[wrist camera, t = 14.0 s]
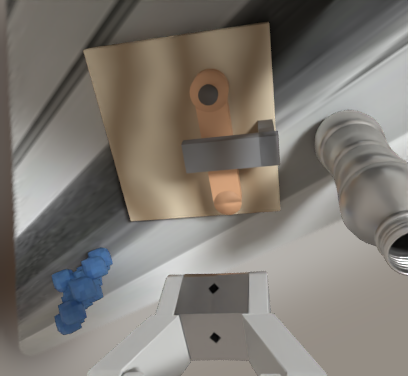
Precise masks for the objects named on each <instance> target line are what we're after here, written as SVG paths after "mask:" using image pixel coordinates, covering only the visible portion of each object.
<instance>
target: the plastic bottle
mask: <svg viewBox="0 0 408 376" xmlns="http://www.w3.org/2000/svg"><path fill="white" fill-rule="evenodd" d="M315 153H316V155H317V158H318V159H319V161H320V162H321V163H322V165H323V166H324V167H325V168H326V169H327V170H328V171H329V172H330V174H331V175H332V177H333V178H334V181H335V185H336V188H337V192H338V201H339V209H340V213H341V217H342V219H343V222H344V224H345V225H346V227H347V228H348V229H349V230H350V231H351V232H352V233H353V234H354V235H356V236H357V237H358V238H359V239H360V240H362V241H364V242H366V243H368V244H371V245H374V246H377V248H378V250H379V252H380V253H381V254H382V255H383V256H384V258H385V260H386V262H387V263H388V265H389V266H390V267H391V268H392V269H393V270H394V271H396V272H398V273H400V274H403V275H407V276H408V162H406V161H405V160H403V159H402V158H400V157H399V156H398V155H397V154H396V153H395V152H394V151H393V150H392V149H391V148H390V146H389V144H388V143H387V140H386V137H385V134H384V132H383V130H382V128H381V126H380V125H379V123H378V122H377V121H376V120H375V119H374V118H372V117H371V116H369V115H367V114H364V113H362V112H359V111H354V110H344V111H339V112H337V113H334V114H332V115H330V116H329V117H327V118H326V119H325V120H324V121H323V122H322V123H321V124H320V126H319V128H318V129H317V132H316V135H315Z"/></svg>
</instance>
